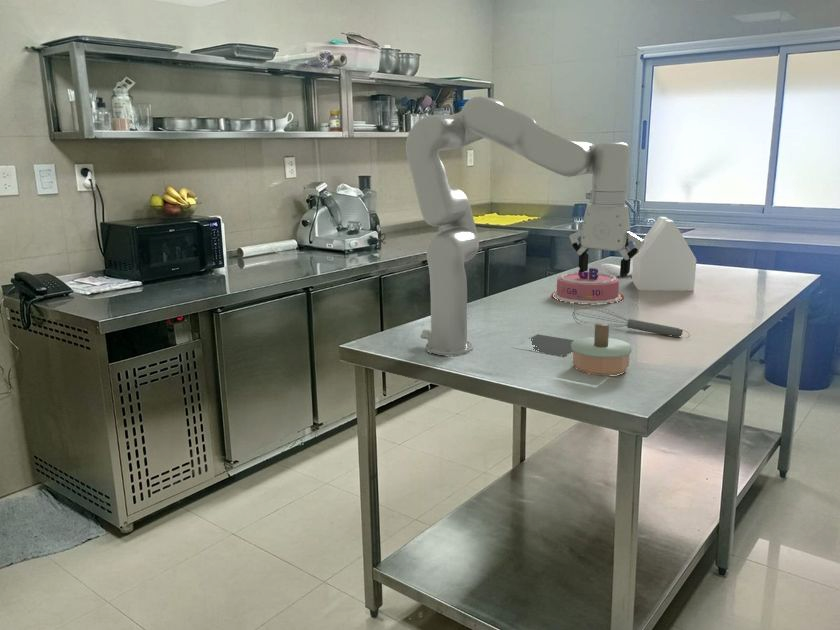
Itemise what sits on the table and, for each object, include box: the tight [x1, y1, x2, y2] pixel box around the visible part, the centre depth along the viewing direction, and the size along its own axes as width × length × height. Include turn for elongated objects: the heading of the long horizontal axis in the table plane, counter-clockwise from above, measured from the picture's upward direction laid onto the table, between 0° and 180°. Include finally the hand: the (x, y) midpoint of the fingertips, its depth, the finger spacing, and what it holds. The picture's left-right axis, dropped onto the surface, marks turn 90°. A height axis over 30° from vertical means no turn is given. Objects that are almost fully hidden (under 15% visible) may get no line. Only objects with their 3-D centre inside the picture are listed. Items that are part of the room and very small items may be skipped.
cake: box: [550, 267, 625, 306], centre depth 233 cm, size 25×25×11 cm
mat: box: [528, 333, 574, 358], centre depth 178 cm, size 15×15×1 cm
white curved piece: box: [600, 242, 635, 277], centre depth 267 cm, size 5×19×15 cm, turn 113°
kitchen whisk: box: [571, 304, 690, 338], centre depth 191 cm, size 6×34×6 cm, turn 55°
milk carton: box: [631, 216, 697, 292], centre depth 246 cm, size 19×15×25 cm
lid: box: [571, 322, 633, 358], centre depth 158 cm, size 14×14×6 cm
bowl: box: [572, 351, 630, 376], centre depth 159 cm, size 12×12×5 cm
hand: (603, 273), depth 154 cm, fingers open, 9 cm apart
